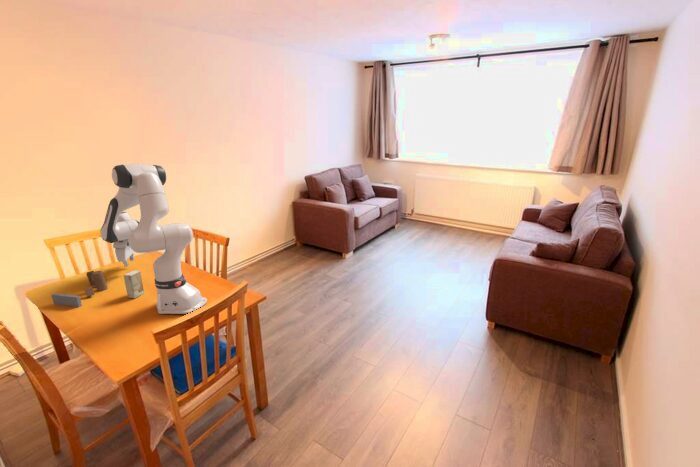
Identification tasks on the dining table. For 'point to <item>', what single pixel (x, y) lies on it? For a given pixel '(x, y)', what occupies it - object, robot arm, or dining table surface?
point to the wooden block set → (95, 282)
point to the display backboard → (66, 300)
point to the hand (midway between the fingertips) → (129, 263)
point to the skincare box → (133, 284)
